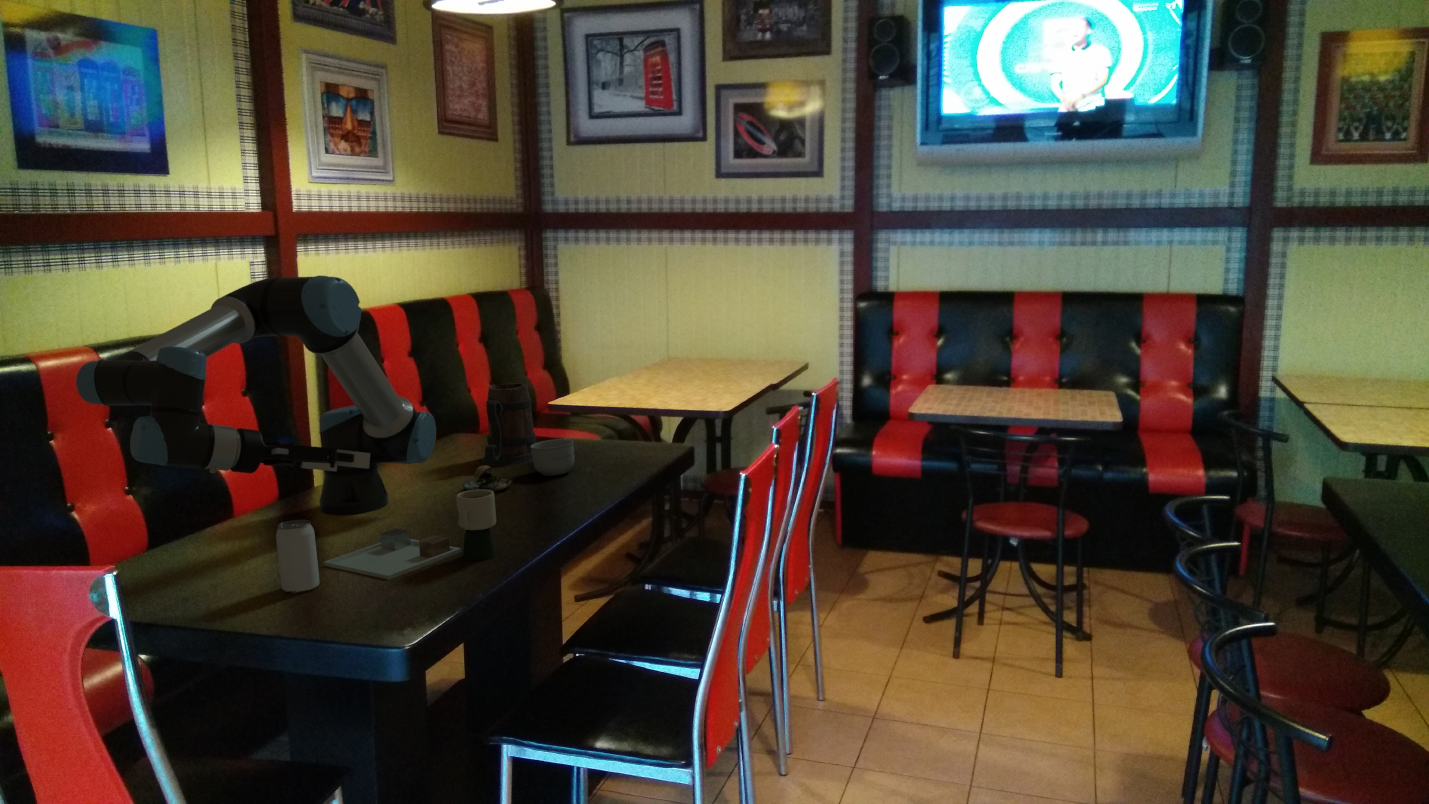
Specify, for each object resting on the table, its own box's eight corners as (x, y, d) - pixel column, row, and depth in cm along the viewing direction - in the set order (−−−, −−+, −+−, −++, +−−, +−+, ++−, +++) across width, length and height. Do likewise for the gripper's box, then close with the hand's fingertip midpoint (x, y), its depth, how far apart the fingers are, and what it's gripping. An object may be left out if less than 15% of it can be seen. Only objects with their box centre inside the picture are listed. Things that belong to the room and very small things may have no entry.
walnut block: (420, 555, 213) (418, 540, 213) (435, 550, 217) (434, 535, 216) (434, 558, 211) (433, 543, 211) (450, 552, 214) (448, 538, 214)
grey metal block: (381, 548, 219) (380, 533, 219) (397, 542, 222) (395, 528, 222) (395, 550, 217) (393, 536, 216) (410, 545, 220) (409, 530, 220)
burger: (478, 499, 258) (475, 468, 257) (453, 491, 267) (451, 461, 266) (522, 489, 266) (520, 459, 265) (497, 481, 275) (495, 452, 274)
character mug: (476, 549, 218) (471, 486, 216) (509, 551, 216) (504, 487, 214) (449, 567, 208) (444, 500, 206) (484, 569, 206) (479, 501, 204)
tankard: (496, 451, 309) (491, 380, 306) (553, 451, 306) (548, 380, 302) (460, 471, 287) (453, 395, 283) (521, 471, 283) (515, 395, 280)
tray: (324, 569, 210) (323, 561, 210) (398, 543, 225) (397, 536, 224) (388, 583, 200) (388, 575, 200) (461, 555, 215) (461, 548, 215)
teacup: (556, 480, 273) (554, 448, 272) (523, 476, 279) (521, 445, 277) (591, 467, 285) (589, 437, 283) (559, 464, 290) (557, 434, 289)
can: (307, 594, 196) (300, 529, 194) (274, 593, 197) (267, 528, 195) (326, 582, 202) (320, 519, 200) (295, 581, 203) (288, 518, 201)
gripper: (205, 474, 196) (321, 484, 210) (257, 468, 178) (381, 480, 192) (210, 432, 197) (325, 445, 211) (263, 422, 179) (385, 438, 193)
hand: (352, 462), depth 202 cm, fingers open, 13 cm apart
